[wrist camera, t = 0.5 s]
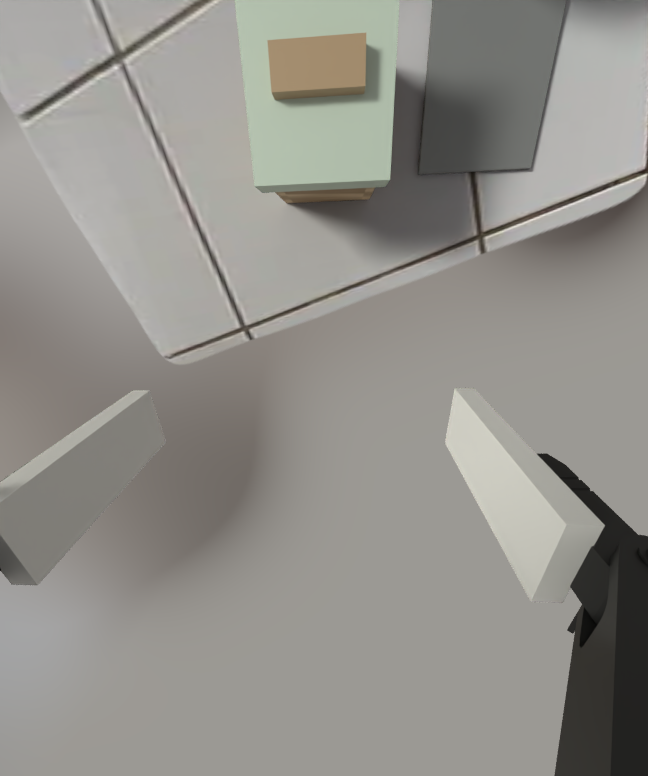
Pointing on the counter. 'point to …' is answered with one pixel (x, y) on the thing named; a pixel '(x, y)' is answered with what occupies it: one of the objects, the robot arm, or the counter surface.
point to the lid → (319, 91)
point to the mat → (487, 83)
